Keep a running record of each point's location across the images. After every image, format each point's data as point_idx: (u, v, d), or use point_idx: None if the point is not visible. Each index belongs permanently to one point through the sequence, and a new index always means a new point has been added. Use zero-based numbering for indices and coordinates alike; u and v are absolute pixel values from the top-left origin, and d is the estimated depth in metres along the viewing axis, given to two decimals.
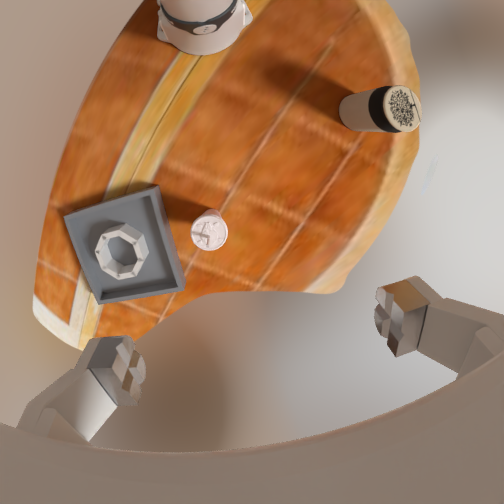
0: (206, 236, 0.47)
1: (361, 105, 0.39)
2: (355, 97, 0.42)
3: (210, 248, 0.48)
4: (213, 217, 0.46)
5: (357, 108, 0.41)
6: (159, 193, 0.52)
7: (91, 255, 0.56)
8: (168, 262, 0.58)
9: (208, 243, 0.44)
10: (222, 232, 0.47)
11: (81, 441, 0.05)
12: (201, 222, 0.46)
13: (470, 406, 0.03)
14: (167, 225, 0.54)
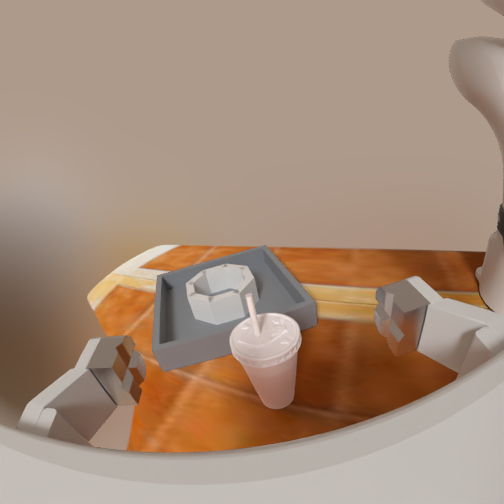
0: None
1: None
2: None
3: (233, 341, 0.24)
4: (297, 334, 0.23)
5: None
6: (306, 325, 0.37)
7: None
8: None
9: (253, 301, 0.22)
10: (268, 352, 0.22)
11: (81, 441, 0.05)
12: (283, 322, 0.25)
13: (470, 406, 0.03)
14: None
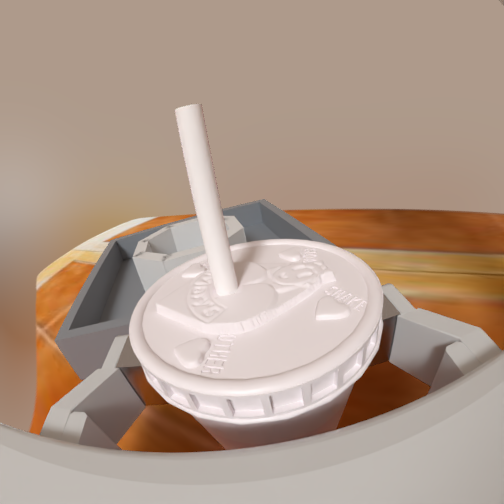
0: None
1: None
2: None
3: (144, 310, 0.07)
4: (374, 286, 0.06)
5: None
6: None
7: None
8: None
9: (203, 131, 0.05)
10: (266, 357, 0.05)
11: (111, 445, 0.05)
12: (315, 258, 0.08)
13: (470, 406, 0.03)
14: None
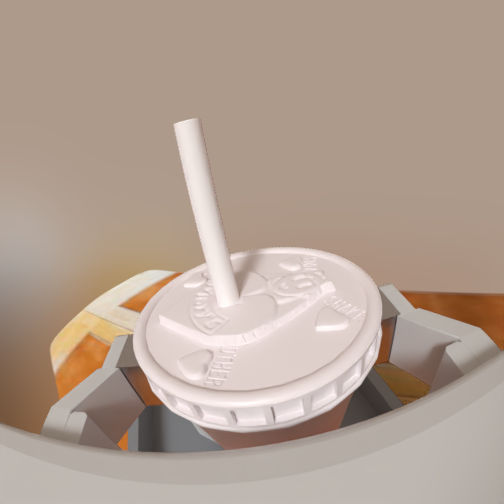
0: None
1: None
2: None
3: (148, 321, 0.07)
4: (372, 296, 0.06)
5: None
6: None
7: None
8: None
9: (202, 146, 0.05)
10: (267, 369, 0.05)
11: (111, 445, 0.05)
12: (315, 267, 0.08)
13: (470, 406, 0.03)
14: None
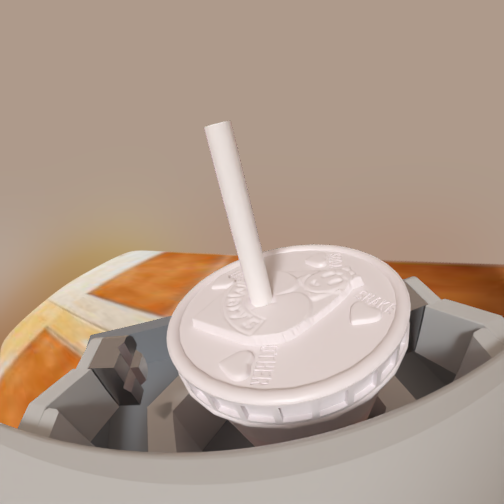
0: None
1: None
2: None
3: (180, 325, 0.07)
4: (400, 288, 0.06)
5: None
6: None
7: None
8: None
9: (235, 148, 0.05)
10: (311, 365, 0.05)
11: (83, 441, 0.05)
12: (341, 263, 0.08)
13: (470, 406, 0.03)
14: None
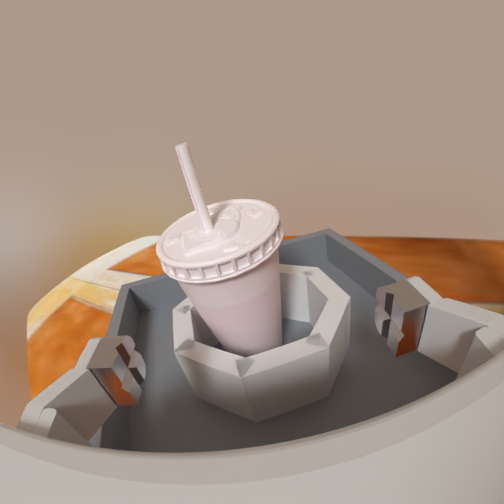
0: None
1: None
2: None
3: (179, 259, 0.12)
4: (260, 202, 0.15)
5: None
6: None
7: None
8: None
9: None
10: (256, 230, 0.12)
11: (81, 441, 0.05)
12: (222, 208, 0.15)
13: (470, 406, 0.03)
14: None
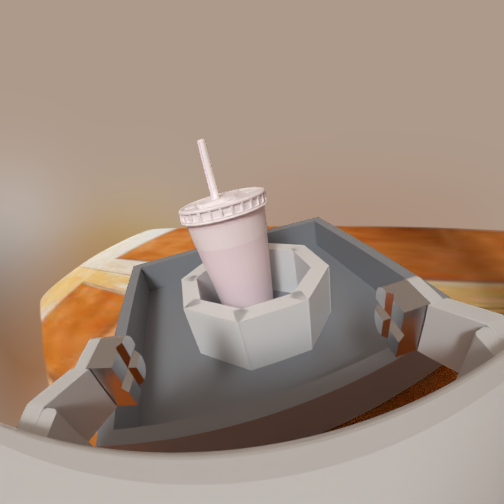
0: (211, 198, 0.19)
1: None
2: None
3: None
4: (252, 188, 0.21)
5: None
6: None
7: None
8: None
9: None
10: (248, 195, 0.18)
11: (81, 441, 0.05)
12: None
13: (470, 406, 0.03)
14: (365, 400, 0.13)
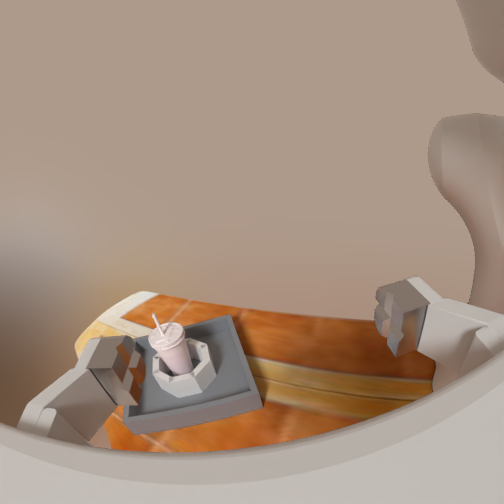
0: None
1: None
2: None
3: (154, 343, 0.41)
4: (179, 325, 0.45)
5: None
6: (252, 408, 0.38)
7: None
8: None
9: None
10: (174, 337, 0.42)
11: (81, 441, 0.05)
12: (169, 325, 0.45)
13: (470, 406, 0.03)
14: (210, 416, 0.37)
